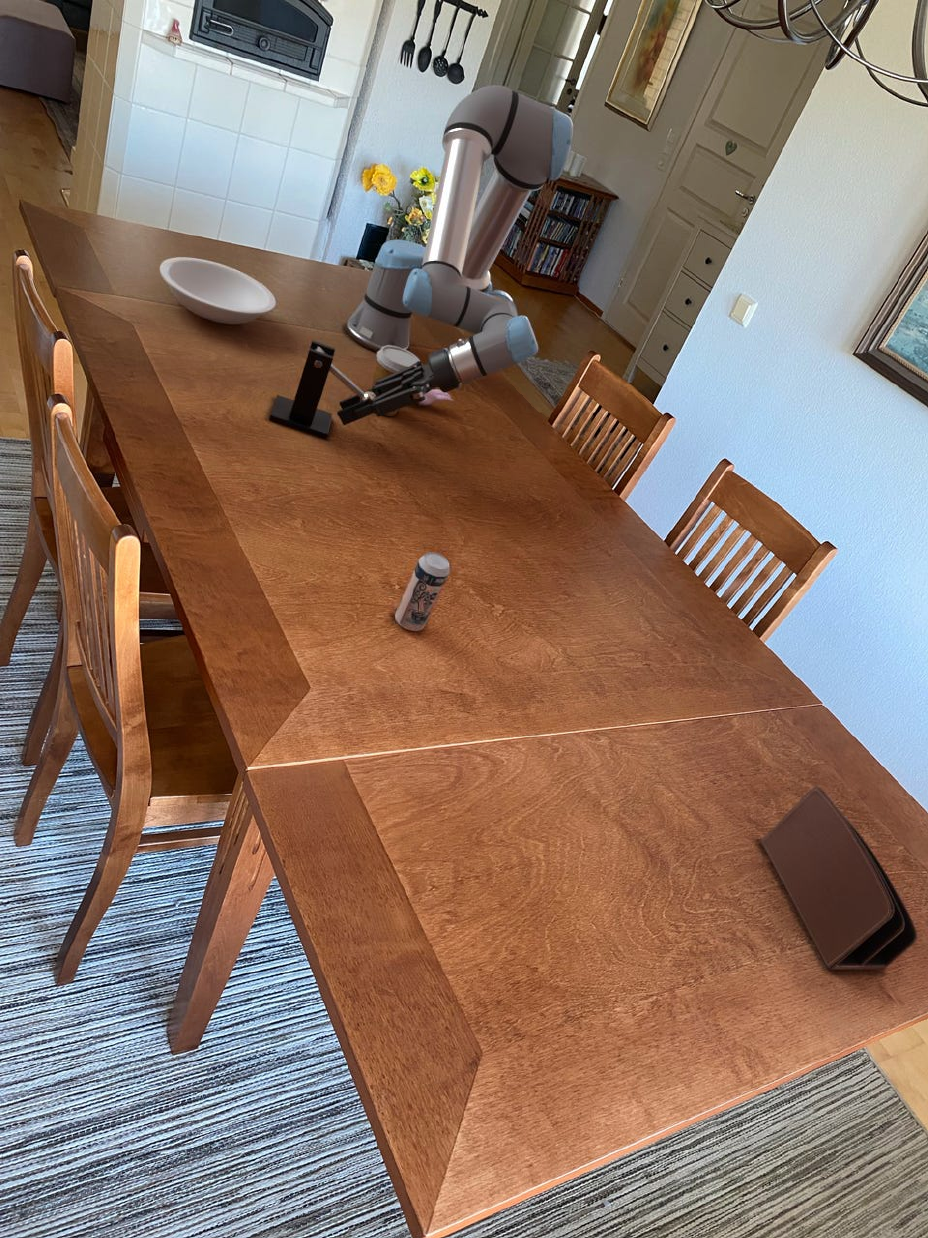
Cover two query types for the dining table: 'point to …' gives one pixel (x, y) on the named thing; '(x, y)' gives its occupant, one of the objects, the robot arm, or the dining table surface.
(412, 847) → the dining table surface
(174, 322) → the dining table surface
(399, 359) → the disposable coffee cup
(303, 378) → the bracket
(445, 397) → the rabbit figure
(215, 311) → the soup bowl
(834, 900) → the letter holder
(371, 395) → the ball-tipped metal rod
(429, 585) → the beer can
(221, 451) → the dining table surface
